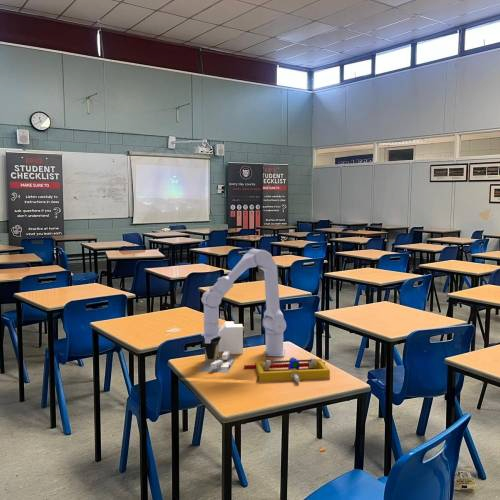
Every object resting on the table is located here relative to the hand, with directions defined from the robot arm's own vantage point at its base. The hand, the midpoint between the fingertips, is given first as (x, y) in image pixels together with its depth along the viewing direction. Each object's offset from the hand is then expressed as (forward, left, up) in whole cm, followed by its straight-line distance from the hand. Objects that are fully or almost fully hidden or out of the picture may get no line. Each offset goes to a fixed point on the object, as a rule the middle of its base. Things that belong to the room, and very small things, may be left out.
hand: (212, 357), depth 197 cm
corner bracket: (-15, +4, -3) cm, 16 cm away
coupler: (0, 0, -1) cm, 1 cm away
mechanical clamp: (+11, +30, -3) cm, 32 cm away
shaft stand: (+4, +3, -2) cm, 6 cm away
